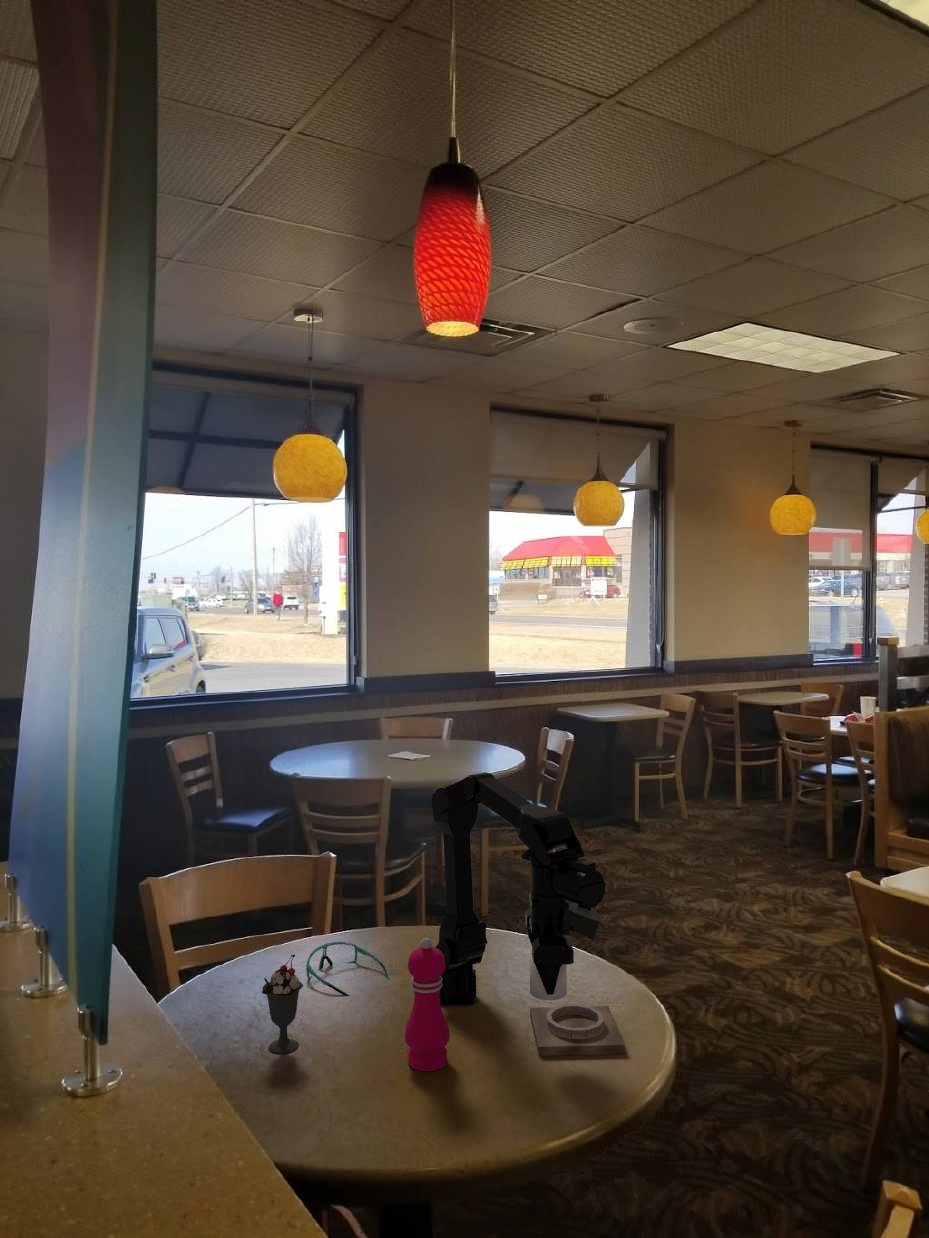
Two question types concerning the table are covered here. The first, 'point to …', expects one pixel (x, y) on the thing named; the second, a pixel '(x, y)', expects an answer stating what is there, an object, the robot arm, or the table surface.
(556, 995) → the lens
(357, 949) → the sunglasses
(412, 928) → the table surface
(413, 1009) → the pepper mill
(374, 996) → the table surface
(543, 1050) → the mount board
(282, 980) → the sundae
